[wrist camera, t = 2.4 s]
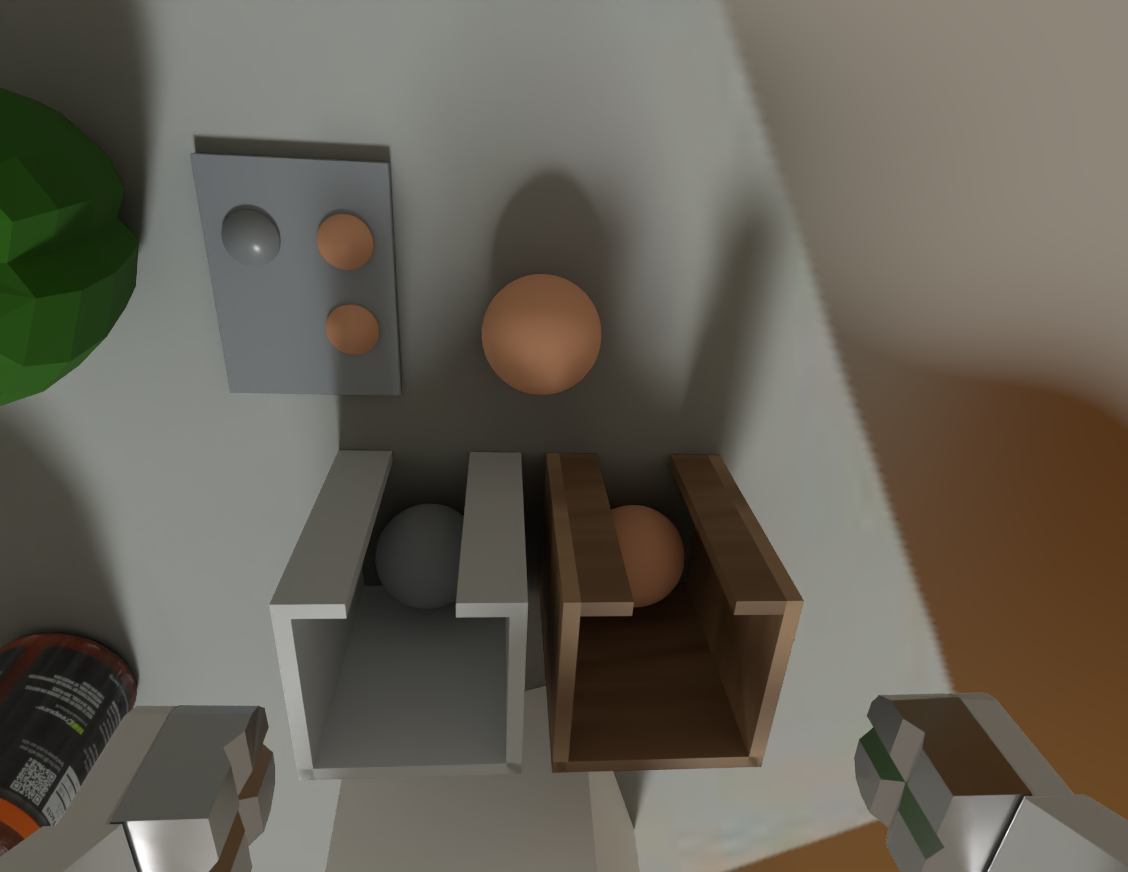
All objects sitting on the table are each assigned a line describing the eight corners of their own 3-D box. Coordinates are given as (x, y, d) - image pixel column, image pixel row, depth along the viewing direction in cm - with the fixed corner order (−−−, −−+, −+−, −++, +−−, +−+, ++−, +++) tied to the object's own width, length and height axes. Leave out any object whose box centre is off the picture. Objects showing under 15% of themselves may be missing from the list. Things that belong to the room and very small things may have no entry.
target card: (195, 152, 22) (187, 154, 22) (389, 162, 23) (387, 163, 22) (234, 388, 26) (228, 394, 25) (401, 391, 26) (399, 397, 26)
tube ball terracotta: (581, 485, 29) (592, 543, 25) (678, 486, 29) (702, 543, 25) (575, 565, 30) (585, 630, 27) (666, 565, 31) (688, 628, 27)
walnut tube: (546, 452, 28) (563, 602, 20) (719, 455, 29) (803, 601, 20) (539, 593, 31) (552, 772, 23) (695, 592, 32) (760, 766, 24)
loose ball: (483, 259, 24) (479, 289, 21) (598, 263, 25) (614, 294, 21) (483, 368, 26) (479, 413, 23) (590, 370, 26) (603, 415, 23)
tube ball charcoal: (381, 484, 28) (362, 542, 24) (482, 485, 28) (479, 542, 25) (386, 566, 30) (370, 632, 26) (482, 566, 30) (479, 631, 27)
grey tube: (338, 450, 27) (269, 604, 19) (521, 452, 28) (527, 602, 20) (352, 595, 30) (298, 780, 22) (516, 593, 31) (521, 773, 23)
